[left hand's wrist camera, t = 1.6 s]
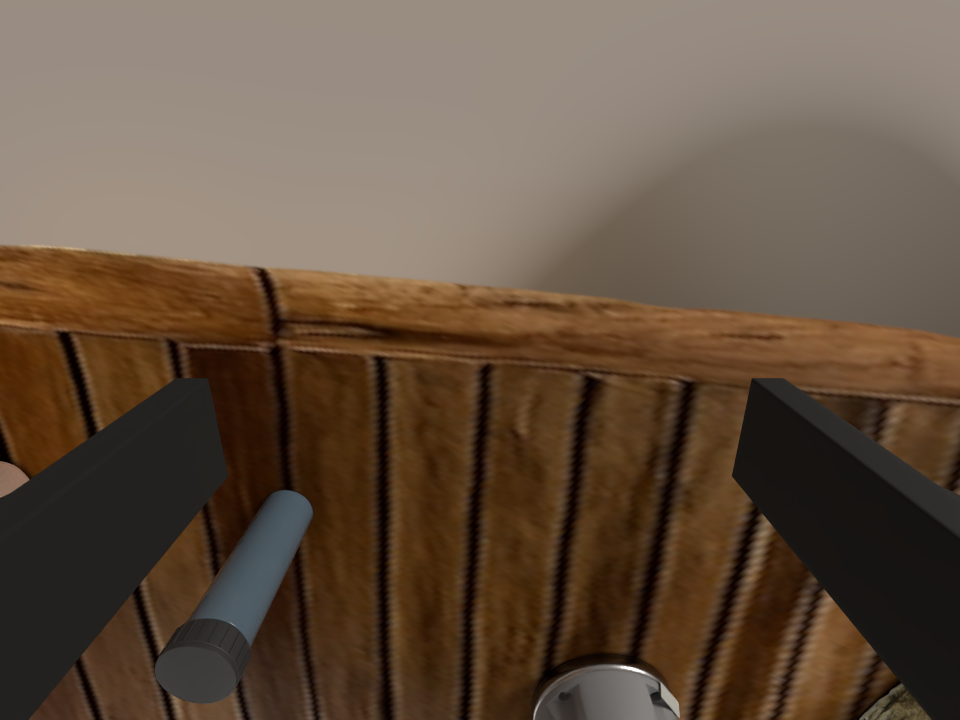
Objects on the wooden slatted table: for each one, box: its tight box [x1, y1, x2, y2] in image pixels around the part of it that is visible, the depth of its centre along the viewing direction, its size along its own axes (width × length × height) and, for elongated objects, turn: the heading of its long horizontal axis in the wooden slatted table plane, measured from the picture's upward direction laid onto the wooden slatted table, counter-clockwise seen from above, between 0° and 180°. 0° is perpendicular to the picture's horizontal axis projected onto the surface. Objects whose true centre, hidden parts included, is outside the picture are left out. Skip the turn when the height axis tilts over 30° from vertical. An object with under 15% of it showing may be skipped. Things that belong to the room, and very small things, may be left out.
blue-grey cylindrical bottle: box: [187, 490, 313, 647], centre depth 40 cm, size 5×5×16 cm
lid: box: [155, 619, 251, 704], centre depth 33 cm, size 5×5×2 cm
